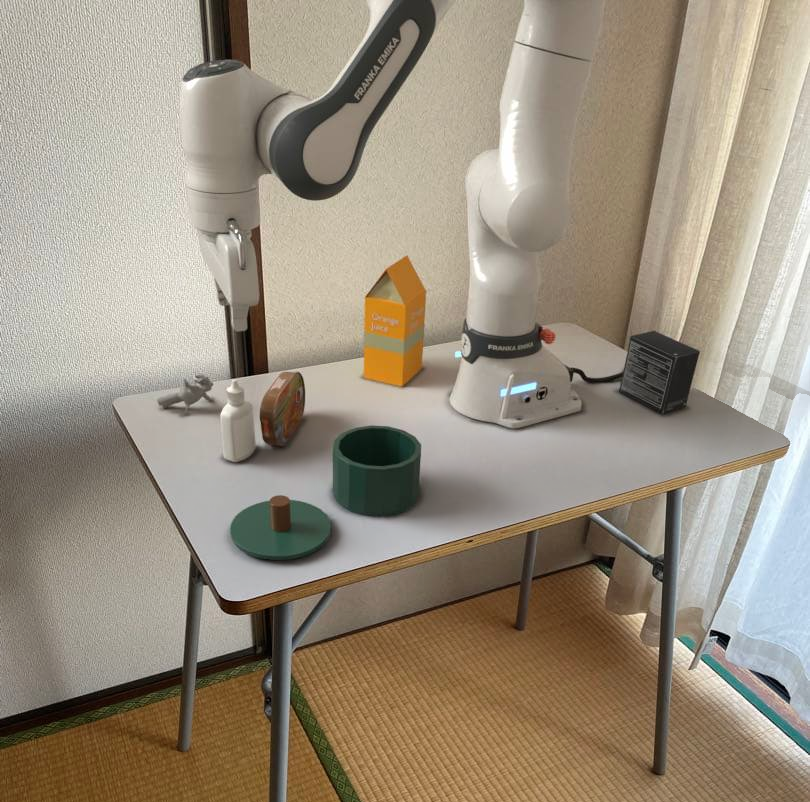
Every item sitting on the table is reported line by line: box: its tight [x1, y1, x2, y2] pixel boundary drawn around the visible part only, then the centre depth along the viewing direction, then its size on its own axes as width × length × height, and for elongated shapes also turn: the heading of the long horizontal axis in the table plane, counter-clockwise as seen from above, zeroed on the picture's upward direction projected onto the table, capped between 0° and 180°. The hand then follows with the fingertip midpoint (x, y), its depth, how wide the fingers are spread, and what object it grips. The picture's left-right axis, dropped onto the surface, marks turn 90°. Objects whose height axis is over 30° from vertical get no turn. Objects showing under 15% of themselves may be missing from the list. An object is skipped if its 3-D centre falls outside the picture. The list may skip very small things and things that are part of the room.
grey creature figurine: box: [156, 371, 214, 415], centre depth 139 cm, size 10×6×9 cm
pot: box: [332, 424, 422, 517], centre depth 121 cm, size 12×12×8 cm
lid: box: [229, 494, 332, 561], centre depth 112 cm, size 13×13×5 cm
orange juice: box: [363, 255, 427, 387], centre depth 150 cm, size 8×9×20 cm
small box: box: [618, 330, 701, 415], centre depth 148 cm, size 11×6×10 cm, turn 34°
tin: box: [259, 371, 306, 447], centre depth 134 cm, size 15×3×8 cm, turn 168°
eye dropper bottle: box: [219, 378, 257, 463], centre depth 126 cm, size 4×6×12 cm
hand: (232, 316), depth 116 cm, fingers open, 8 cm apart
